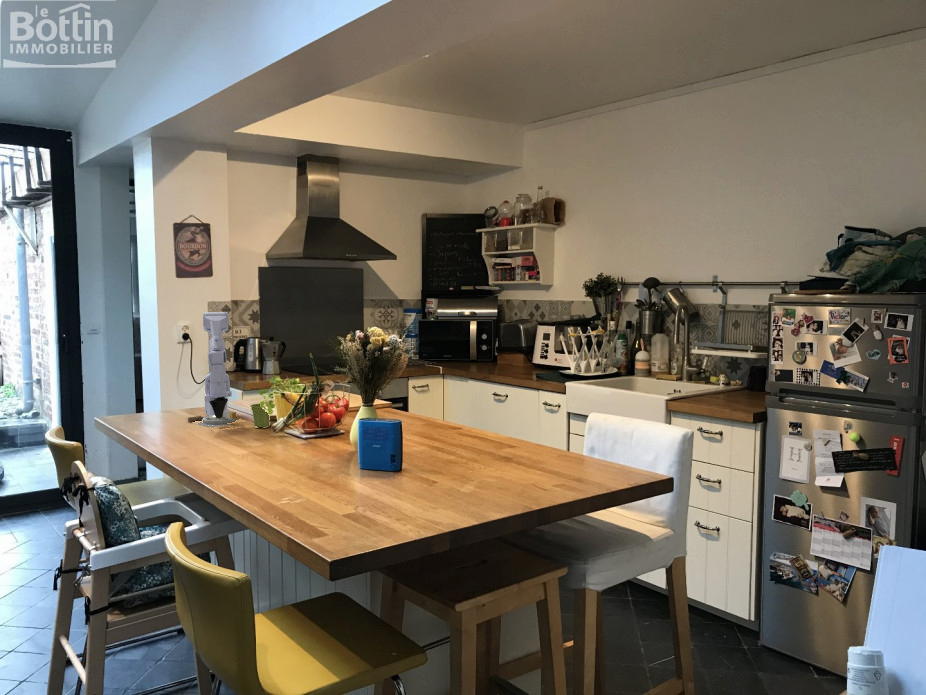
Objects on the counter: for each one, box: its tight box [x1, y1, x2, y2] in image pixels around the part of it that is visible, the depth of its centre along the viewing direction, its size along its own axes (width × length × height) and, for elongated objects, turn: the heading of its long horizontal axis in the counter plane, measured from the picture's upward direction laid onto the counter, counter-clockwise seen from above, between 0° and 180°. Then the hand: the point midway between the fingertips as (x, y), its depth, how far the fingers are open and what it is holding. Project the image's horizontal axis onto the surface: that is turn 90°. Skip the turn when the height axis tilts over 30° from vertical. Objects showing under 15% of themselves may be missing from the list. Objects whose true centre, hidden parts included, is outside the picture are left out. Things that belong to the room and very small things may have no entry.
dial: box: [208, 409, 237, 420], centre depth 290 cm, size 15×8×5 cm, turn 48°
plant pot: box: [249, 403, 269, 427], centre depth 284 cm, size 9×9×9 cm
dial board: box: [198, 416, 239, 428], centre depth 293 cm, size 18×18×2 cm
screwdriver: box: [187, 415, 209, 423], centre depth 295 cm, size 12×2×2 cm, turn 138°
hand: (218, 417), depth 283 cm, fingers closed
